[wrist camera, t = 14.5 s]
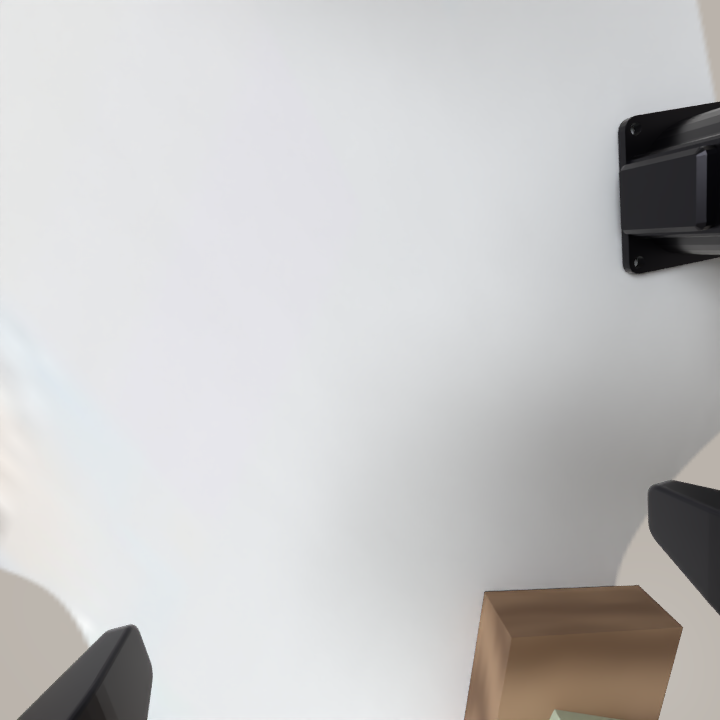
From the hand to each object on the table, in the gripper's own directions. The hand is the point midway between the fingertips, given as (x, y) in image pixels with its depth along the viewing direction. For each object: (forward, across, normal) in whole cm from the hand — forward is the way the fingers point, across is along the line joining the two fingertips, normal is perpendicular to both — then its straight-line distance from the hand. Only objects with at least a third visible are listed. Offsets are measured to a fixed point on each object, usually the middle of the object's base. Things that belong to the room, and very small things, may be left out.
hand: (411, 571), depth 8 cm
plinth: (+13, -8, +21) cm, 26 cm away
